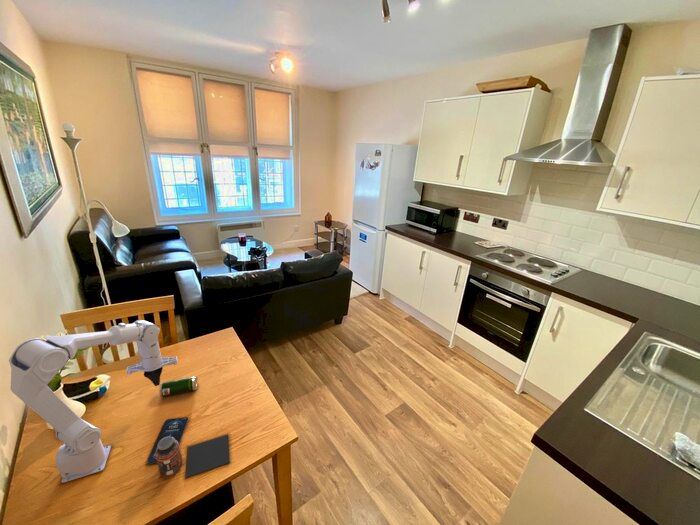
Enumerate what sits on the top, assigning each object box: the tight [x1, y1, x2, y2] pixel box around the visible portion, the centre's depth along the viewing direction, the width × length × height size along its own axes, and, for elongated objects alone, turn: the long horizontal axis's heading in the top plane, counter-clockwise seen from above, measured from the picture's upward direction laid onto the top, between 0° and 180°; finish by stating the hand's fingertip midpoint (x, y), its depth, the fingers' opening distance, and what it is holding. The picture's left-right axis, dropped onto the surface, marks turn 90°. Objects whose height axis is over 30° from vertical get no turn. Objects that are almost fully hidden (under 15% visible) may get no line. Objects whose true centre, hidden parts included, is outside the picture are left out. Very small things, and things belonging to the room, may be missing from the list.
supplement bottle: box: [155, 436, 183, 477], centre depth 84 cm, size 6×6×11 cm
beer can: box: [158, 376, 198, 398], centre depth 111 cm, size 5×5×12 cm
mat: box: [185, 434, 231, 479], centre depth 90 cm, size 12×10×1 cm
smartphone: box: [146, 416, 189, 465], centre depth 94 cm, size 8×1×15 cm
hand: (157, 383), depth 102 cm, fingers closed
